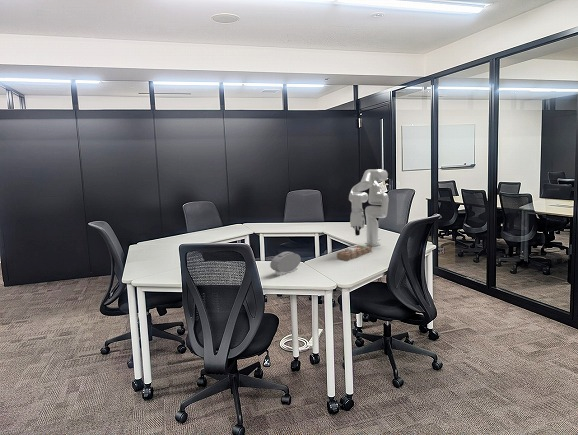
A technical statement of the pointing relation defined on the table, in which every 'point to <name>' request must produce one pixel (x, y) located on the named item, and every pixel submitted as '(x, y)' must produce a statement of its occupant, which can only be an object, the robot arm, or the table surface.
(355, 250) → the cream key
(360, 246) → the sage key
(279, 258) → the alarm clock
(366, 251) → the console
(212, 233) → the table surface
